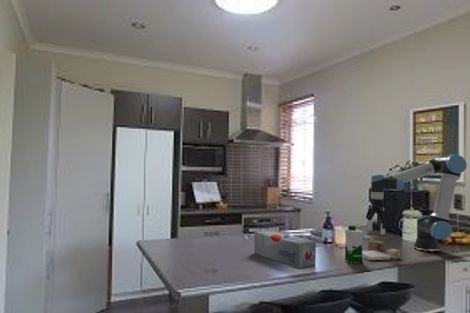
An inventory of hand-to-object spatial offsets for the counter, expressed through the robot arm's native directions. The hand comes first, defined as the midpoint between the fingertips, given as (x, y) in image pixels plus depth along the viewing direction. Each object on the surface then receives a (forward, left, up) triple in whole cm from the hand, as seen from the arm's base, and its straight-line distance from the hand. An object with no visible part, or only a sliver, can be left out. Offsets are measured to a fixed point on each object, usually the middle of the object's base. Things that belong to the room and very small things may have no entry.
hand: (376, 231), depth 229 cm
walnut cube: (0, 0, -13) cm, 13 cm away
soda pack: (+66, +7, -14) cm, 68 cm away
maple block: (-2, +14, -13) cm, 20 cm away
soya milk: (+27, +18, -14) cm, 35 cm away
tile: (+10, +11, -13) cm, 20 cm away
